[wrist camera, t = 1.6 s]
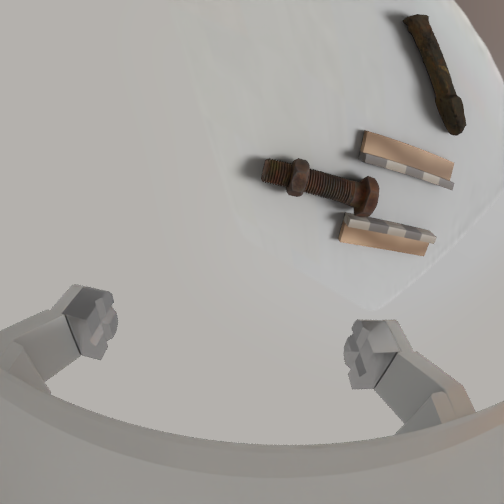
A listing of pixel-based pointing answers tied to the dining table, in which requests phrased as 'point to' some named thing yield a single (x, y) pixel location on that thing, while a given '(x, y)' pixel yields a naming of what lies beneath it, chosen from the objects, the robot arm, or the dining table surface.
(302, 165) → the bolt
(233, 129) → the dining table surface
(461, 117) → the carved wooden phallus
